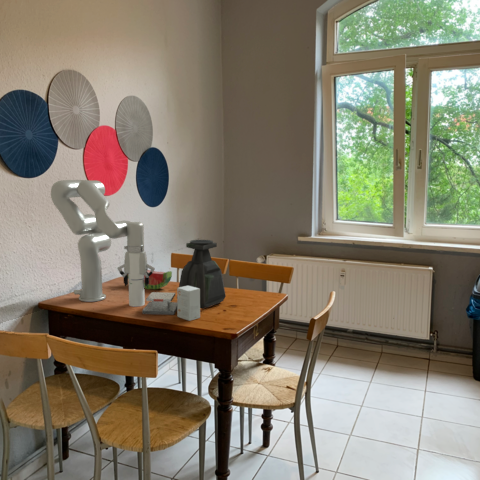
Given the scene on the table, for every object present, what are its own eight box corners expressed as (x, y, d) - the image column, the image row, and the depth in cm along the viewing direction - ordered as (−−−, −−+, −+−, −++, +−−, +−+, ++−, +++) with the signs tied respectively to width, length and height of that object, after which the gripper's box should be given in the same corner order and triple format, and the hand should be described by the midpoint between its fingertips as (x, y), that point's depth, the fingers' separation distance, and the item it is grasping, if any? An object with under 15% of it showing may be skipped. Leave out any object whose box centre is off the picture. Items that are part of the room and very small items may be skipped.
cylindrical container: (140, 307, 211) (139, 253, 207) (126, 306, 212) (125, 253, 208) (147, 302, 217) (146, 251, 214) (133, 301, 219) (131, 250, 215)
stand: (142, 313, 201) (141, 299, 200) (149, 304, 214) (149, 291, 214) (173, 314, 200) (173, 300, 199) (179, 305, 214) (179, 291, 213)
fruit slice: (172, 289, 243) (172, 271, 241) (165, 292, 237) (165, 273, 236) (132, 283, 254) (132, 266, 252) (125, 286, 248) (124, 268, 246)
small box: (200, 317, 197) (200, 288, 195) (189, 321, 192) (189, 291, 190) (188, 313, 202) (188, 285, 200) (176, 316, 197) (176, 287, 195)
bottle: (226, 302, 219) (227, 241, 215) (205, 311, 206) (205, 245, 201) (198, 296, 229) (197, 237, 225) (175, 304, 216) (175, 241, 211)
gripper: (114, 250, 207) (115, 286, 210) (152, 250, 207) (153, 287, 209) (119, 247, 215) (120, 282, 217) (156, 248, 214) (156, 283, 217)
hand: (136, 285), depth 213 cm, fingers open, 9 cm apart
